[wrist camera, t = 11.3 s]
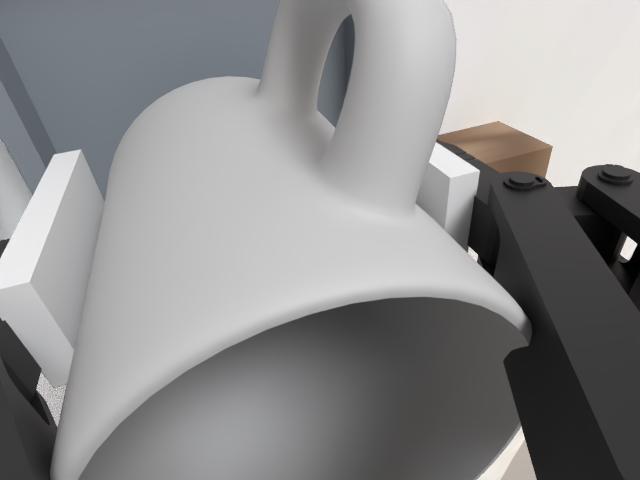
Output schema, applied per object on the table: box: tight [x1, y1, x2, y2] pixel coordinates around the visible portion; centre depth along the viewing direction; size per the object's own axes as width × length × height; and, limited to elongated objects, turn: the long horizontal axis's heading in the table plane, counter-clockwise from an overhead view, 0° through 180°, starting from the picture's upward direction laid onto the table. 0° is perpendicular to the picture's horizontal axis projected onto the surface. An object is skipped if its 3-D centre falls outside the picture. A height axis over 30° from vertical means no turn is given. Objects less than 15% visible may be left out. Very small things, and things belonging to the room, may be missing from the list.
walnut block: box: [436, 121, 553, 178], centre depth 22 cm, size 4×4×4 cm
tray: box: [0, 0, 355, 202], centre depth 17 cm, size 14×17×2 cm
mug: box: [50, 0, 533, 480], centre depth 11 cm, size 12×8×11 cm
